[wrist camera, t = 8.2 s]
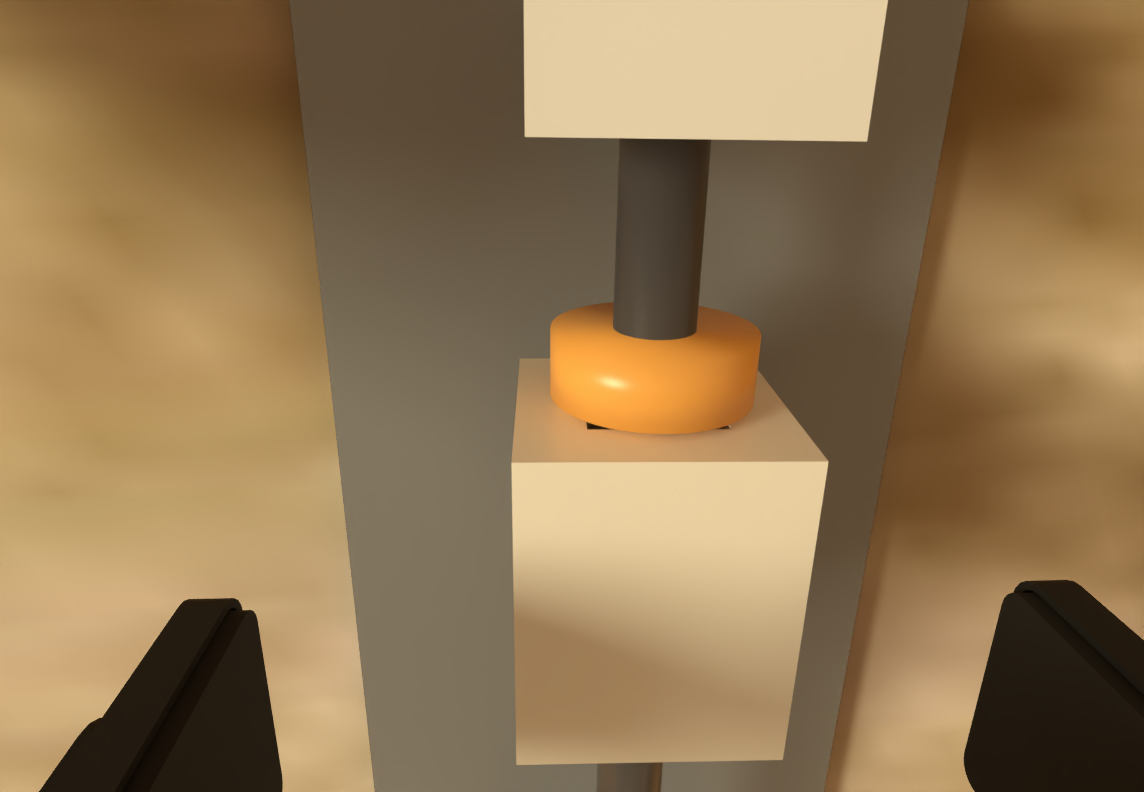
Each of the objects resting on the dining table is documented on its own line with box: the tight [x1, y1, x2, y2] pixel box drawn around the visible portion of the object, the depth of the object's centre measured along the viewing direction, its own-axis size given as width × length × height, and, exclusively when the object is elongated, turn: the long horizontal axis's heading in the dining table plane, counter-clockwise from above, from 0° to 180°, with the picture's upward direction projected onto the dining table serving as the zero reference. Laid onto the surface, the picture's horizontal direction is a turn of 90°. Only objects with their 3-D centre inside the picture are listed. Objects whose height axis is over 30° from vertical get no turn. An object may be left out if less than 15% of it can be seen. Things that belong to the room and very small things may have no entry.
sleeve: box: [511, 358, 829, 765], centre depth 12 cm, size 5×4×4 cm
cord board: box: [289, 0, 969, 792], centre depth 14 cm, size 24×12×9 cm, turn 179°
